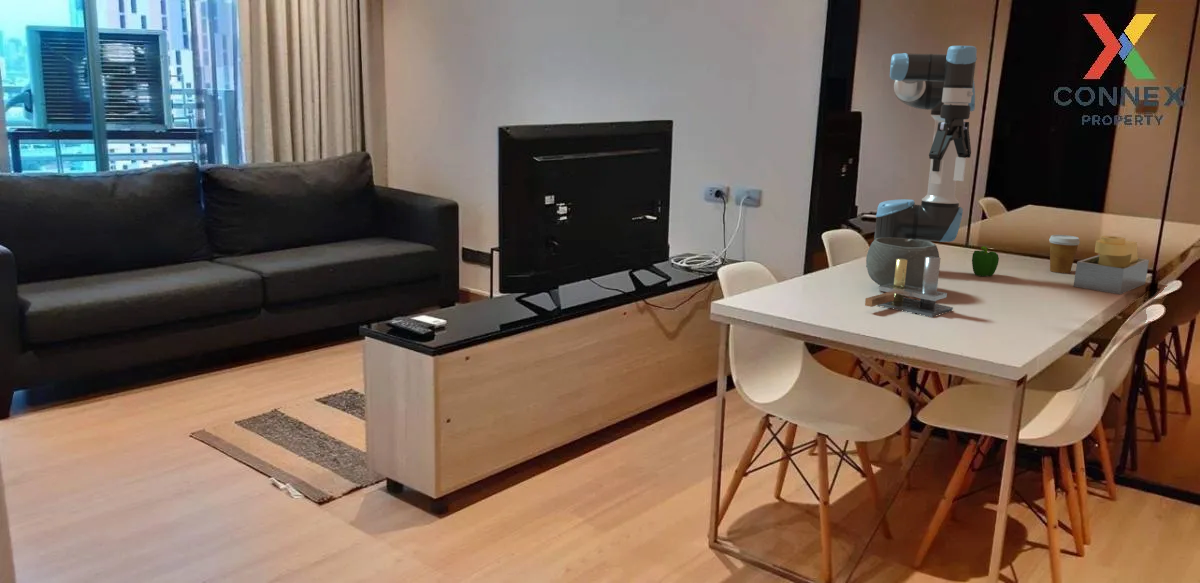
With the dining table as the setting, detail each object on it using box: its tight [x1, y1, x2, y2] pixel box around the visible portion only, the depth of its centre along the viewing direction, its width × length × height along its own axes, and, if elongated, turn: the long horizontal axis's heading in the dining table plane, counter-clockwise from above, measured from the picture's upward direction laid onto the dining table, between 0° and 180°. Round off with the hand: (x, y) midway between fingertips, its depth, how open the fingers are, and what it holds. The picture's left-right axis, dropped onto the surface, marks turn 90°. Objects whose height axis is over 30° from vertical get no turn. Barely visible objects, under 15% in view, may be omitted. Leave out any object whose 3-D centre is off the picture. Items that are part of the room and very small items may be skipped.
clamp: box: [1094, 235, 1139, 268], centre depth 297 cm, size 20×9×16 cm, turn 134°
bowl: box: [865, 237, 940, 288], centre depth 280 cm, size 21×21×15 cm
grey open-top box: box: [1073, 254, 1150, 295], centre depth 297 cm, size 14×24×8 cm, turn 134°
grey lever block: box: [864, 256, 954, 318], centre depth 255 cm, size 18×22×15 cm
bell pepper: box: [971, 245, 1000, 277], centre depth 307 cm, size 8×8×10 cm
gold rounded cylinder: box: [893, 259, 907, 302], centre depth 262 cm, size 3×3×12 cm
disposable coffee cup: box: [1048, 234, 1081, 274], centre depth 316 cm, size 10×10×12 cm
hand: (947, 182), depth 258 cm, fingers open, 13 cm apart
